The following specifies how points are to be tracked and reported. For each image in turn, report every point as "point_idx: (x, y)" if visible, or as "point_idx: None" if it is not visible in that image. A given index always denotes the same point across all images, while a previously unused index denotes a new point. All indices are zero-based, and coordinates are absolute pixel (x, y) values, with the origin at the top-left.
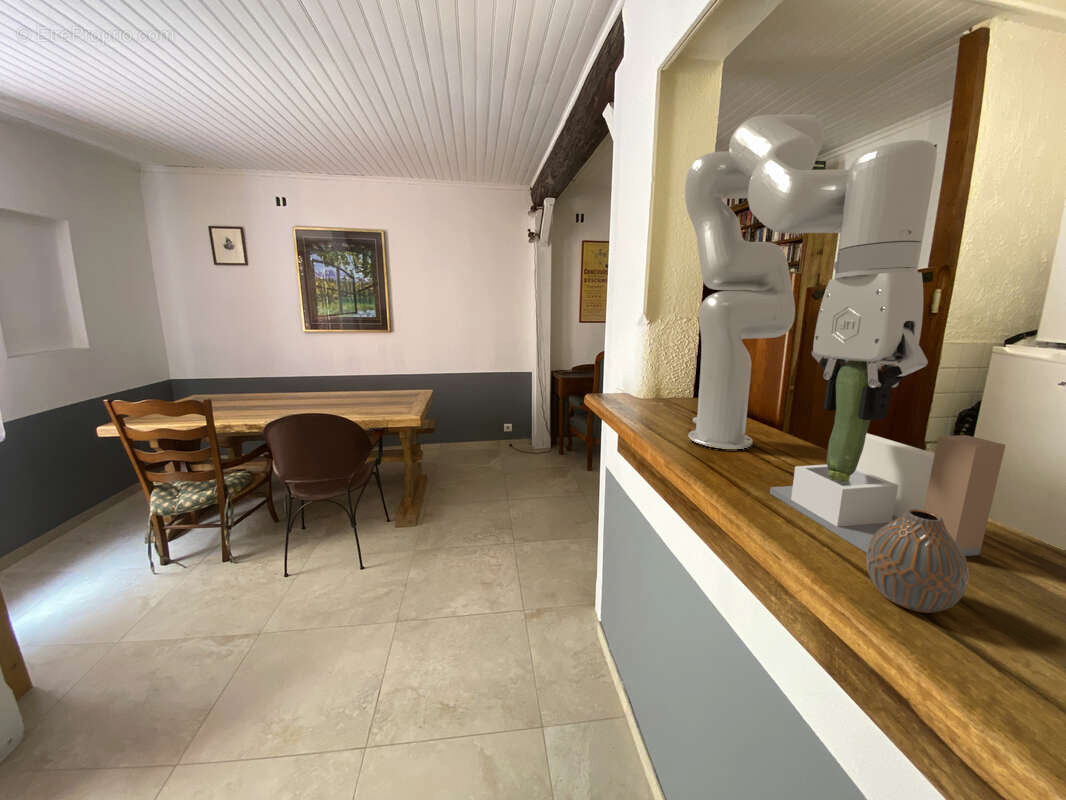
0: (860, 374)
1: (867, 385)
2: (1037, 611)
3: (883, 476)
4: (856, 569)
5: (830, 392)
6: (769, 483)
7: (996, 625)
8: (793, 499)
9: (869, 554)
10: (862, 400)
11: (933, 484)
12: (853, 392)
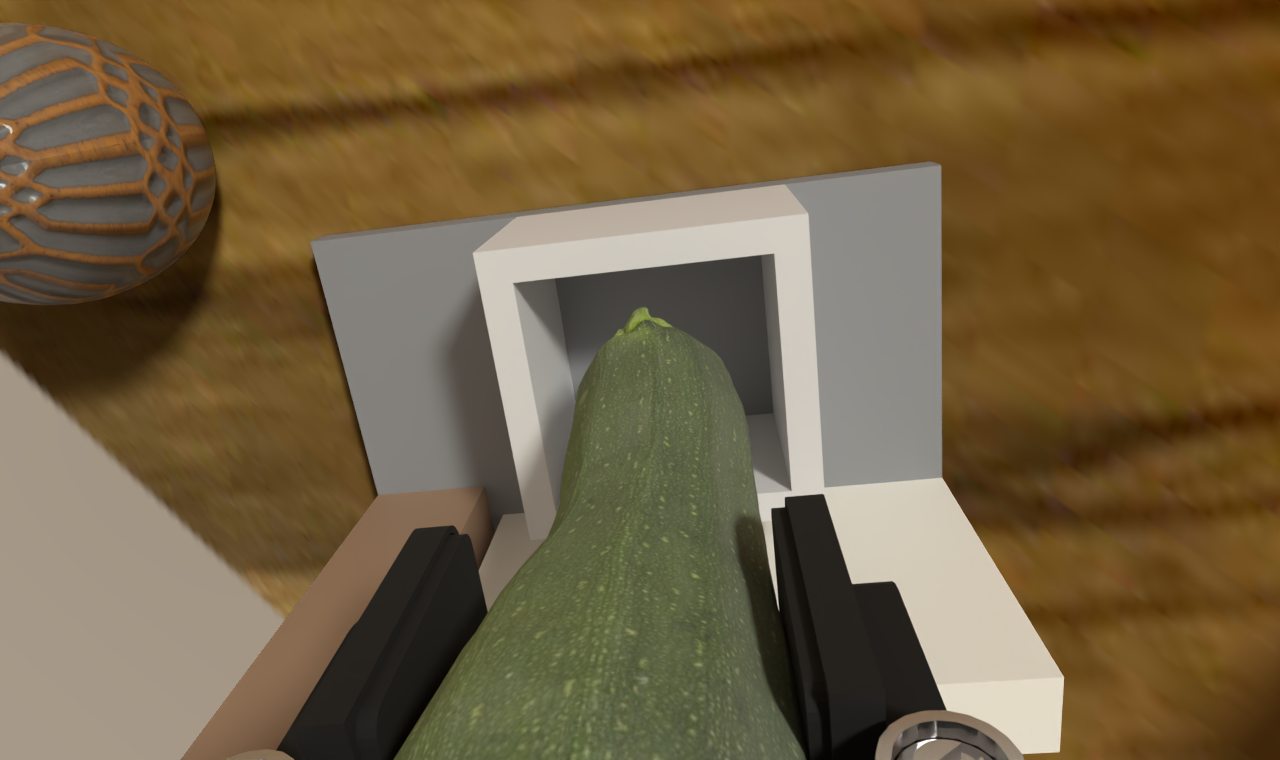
0: None
1: None
2: (151, 458)
3: None
4: (279, 107)
5: (797, 603)
6: (1055, 237)
7: None
8: (770, 187)
9: (59, 32)
10: (389, 619)
11: None
12: (471, 647)
